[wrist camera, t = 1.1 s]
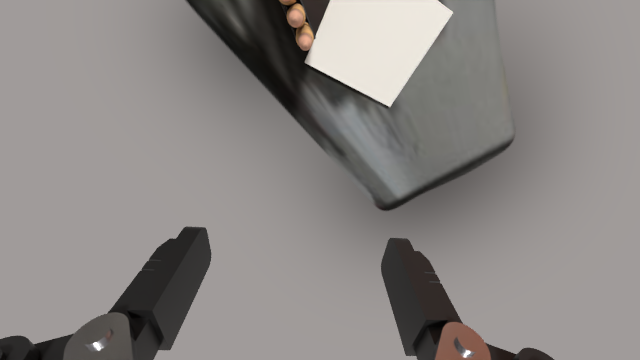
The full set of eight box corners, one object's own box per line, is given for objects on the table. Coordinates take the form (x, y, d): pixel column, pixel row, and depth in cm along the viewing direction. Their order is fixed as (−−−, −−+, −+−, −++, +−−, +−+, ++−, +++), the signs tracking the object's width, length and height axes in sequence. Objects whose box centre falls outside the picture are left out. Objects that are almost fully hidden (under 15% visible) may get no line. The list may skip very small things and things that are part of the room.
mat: (304, 62, 29) (304, 62, 29) (355, -61, 23) (356, -62, 22) (388, 106, 33) (389, 107, 33) (451, 12, 27) (453, 12, 27)
